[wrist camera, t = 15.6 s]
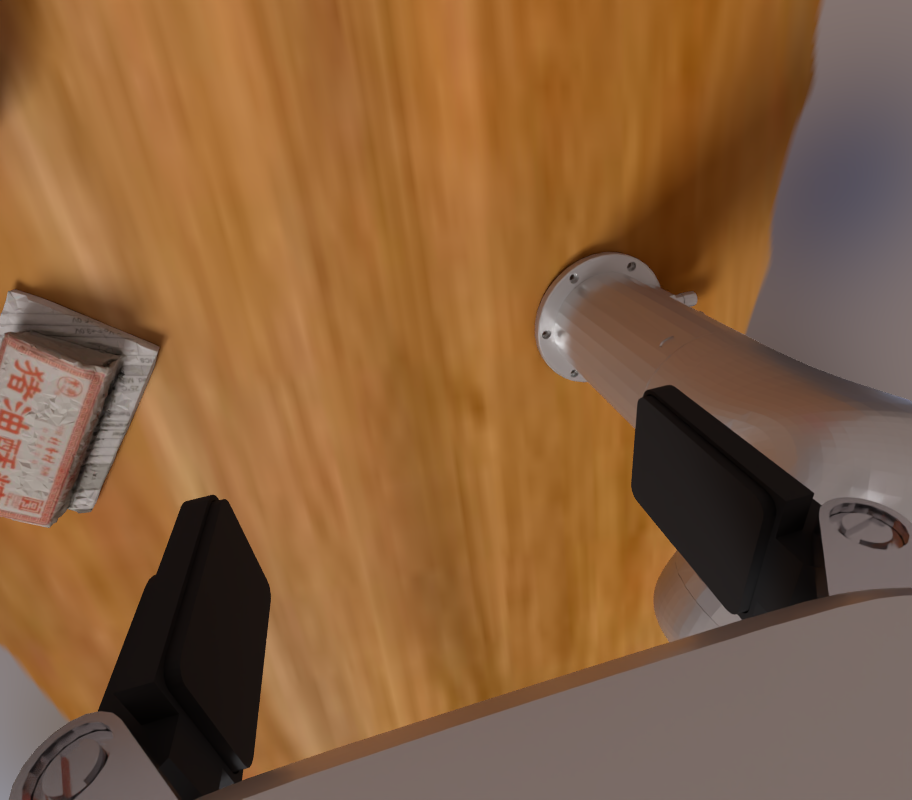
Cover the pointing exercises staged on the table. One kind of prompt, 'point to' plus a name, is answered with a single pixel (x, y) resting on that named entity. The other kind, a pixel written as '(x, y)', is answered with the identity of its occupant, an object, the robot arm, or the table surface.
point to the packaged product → (62, 405)
